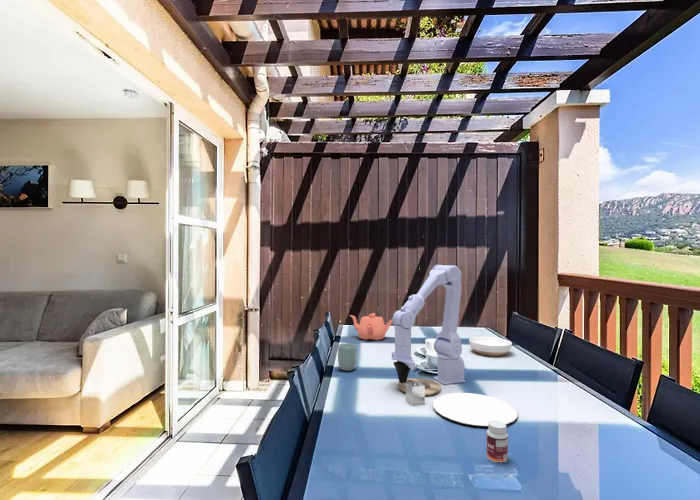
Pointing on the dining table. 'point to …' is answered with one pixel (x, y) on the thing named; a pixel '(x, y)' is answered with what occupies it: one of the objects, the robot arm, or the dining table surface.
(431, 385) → the turntable
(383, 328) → the teapot
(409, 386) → the grey block
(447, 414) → the plate
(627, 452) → the dining table surface
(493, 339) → the bowl
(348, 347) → the cup
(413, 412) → the dining table surface
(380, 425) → the dining table surface
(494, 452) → the pill bottle
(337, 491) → the dining table surface
